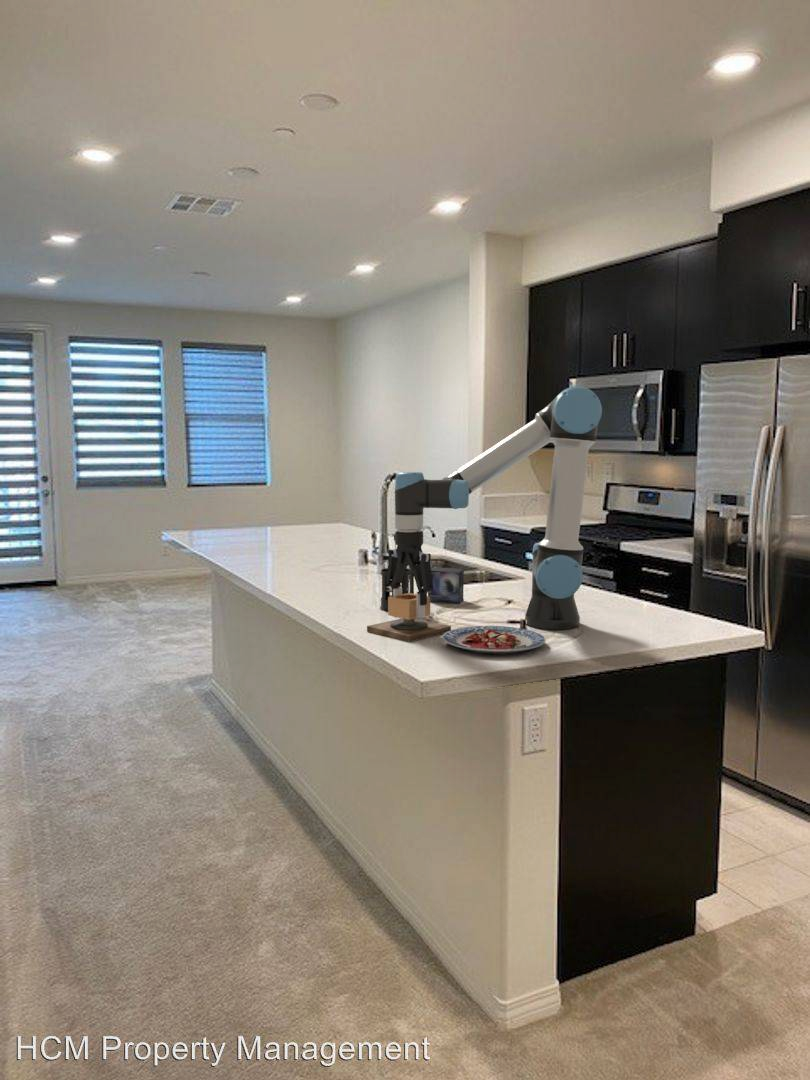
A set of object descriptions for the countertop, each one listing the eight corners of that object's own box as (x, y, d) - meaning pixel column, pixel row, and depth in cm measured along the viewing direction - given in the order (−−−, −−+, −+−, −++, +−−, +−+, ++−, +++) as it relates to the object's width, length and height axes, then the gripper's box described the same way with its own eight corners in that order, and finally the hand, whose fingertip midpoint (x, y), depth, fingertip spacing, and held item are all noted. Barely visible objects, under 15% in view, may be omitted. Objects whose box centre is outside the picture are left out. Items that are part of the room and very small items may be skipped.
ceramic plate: (421, 643, 205) (421, 631, 205) (494, 629, 221) (495, 618, 220) (491, 665, 185) (491, 652, 184) (566, 648, 200) (567, 636, 200)
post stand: (450, 631, 217) (451, 602, 216) (409, 641, 206) (409, 611, 205) (408, 622, 228) (408, 594, 227) (367, 631, 217) (366, 602, 216)
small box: (426, 602, 257) (427, 569, 256) (432, 598, 263) (432, 566, 262) (458, 604, 253) (459, 571, 252) (464, 600, 260) (464, 568, 258)
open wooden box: (430, 615, 216) (430, 596, 216) (409, 619, 211) (409, 601, 210) (409, 610, 222) (409, 593, 221) (388, 615, 216) (388, 596, 216)
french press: (389, 613, 240) (389, 536, 237) (372, 608, 247) (372, 533, 244) (421, 608, 247) (421, 534, 244) (403, 603, 254) (403, 531, 251)
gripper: (447, 532, 209) (447, 618, 211) (392, 526, 223) (392, 606, 226) (428, 534, 203) (427, 622, 206) (372, 528, 218) (372, 610, 221)
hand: (409, 614), depth 216 cm, fingers closed on open wooden box, 8 cm apart
